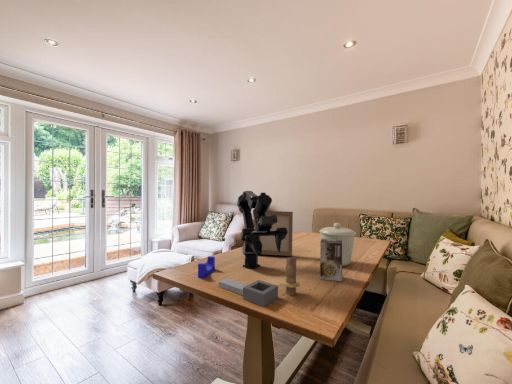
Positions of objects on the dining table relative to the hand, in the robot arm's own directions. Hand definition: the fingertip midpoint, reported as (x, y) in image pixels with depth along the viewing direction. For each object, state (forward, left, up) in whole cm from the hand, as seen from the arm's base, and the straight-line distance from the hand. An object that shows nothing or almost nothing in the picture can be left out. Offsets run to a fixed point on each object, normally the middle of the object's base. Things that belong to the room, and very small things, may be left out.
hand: (268, 252), depth 93 cm
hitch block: (+8, -4, -14) cm, 17 cm away
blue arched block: (+4, -31, -14) cm, 35 cm away
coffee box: (-26, +15, -14) cm, 33 cm away
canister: (-48, +10, -14) cm, 51 cm away
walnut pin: (-2, +9, -14) cm, 17 cm away
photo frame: (-43, -25, -14) cm, 52 cm away
